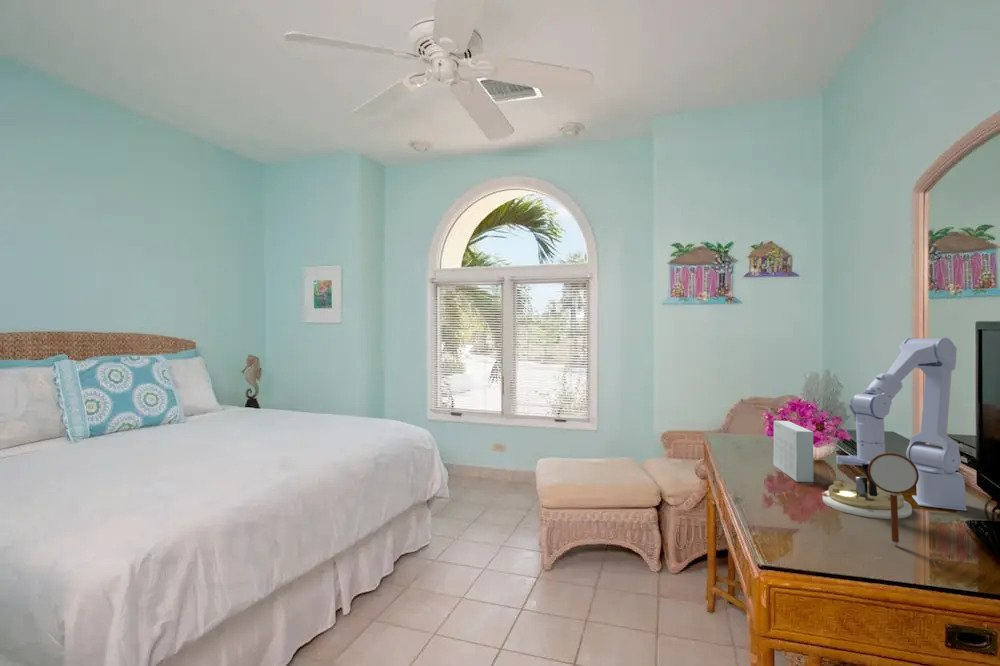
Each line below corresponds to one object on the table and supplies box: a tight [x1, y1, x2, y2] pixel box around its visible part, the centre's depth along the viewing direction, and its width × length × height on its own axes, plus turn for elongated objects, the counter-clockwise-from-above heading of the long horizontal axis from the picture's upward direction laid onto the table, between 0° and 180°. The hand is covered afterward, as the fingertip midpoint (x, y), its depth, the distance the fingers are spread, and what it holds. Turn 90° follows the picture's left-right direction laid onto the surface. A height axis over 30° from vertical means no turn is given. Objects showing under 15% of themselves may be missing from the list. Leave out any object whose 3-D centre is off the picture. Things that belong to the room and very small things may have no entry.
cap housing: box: [821, 489, 913, 520], centre depth 130 cm, size 19×19×2 cm
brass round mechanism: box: [828, 475, 905, 510], centre depth 130 cm, size 16×16×7 cm
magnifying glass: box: [868, 452, 919, 547], centre depth 106 cm, size 9×2×20 cm, turn 57°
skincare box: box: [772, 420, 814, 483], centre depth 162 cm, size 21×6×16 cm, turn 168°
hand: (872, 495), depth 124 cm, fingers closed
